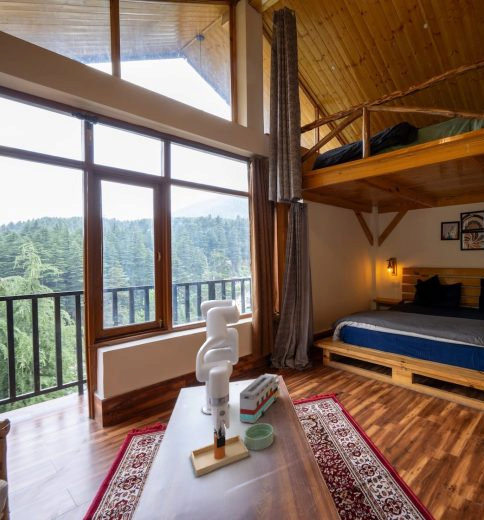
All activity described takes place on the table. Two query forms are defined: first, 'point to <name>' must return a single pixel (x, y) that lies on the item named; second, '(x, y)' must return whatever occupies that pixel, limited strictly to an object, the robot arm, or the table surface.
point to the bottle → (218, 452)
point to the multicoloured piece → (258, 397)
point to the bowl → (259, 436)
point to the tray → (207, 462)
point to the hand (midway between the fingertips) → (219, 442)
